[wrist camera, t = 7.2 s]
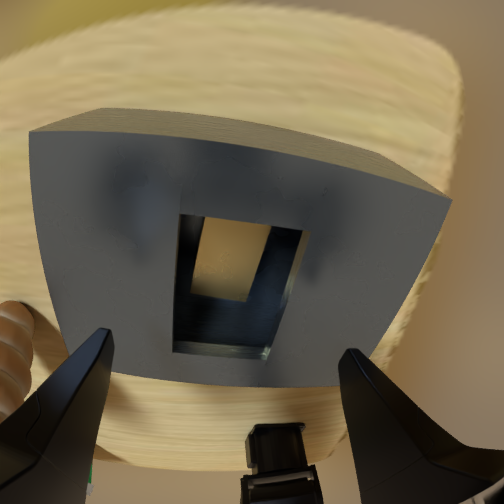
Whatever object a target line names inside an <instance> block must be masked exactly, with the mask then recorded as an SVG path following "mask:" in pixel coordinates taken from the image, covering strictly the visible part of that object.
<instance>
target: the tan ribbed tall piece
mask: <svg viewBox="0 0 504 504" xmlns="http://www.w3.org/2000/svg"><path fill="white" fill-rule="evenodd" d="M34 330H35V322H34V319H33V317H32V315H31V313H30V312H29V311H28V309H27V308H26V307H25V306H24V305H22V304H21V303H19V302H17V301H5V302H3V303H1V304H0V423H1V422H2V421H3V420H5V419H6V418H7V417H8V416H9V415H11V414H12V413H13V412H14V411H15V410H16V409H17V408H19V407H20V406H21V405H22V404H23V403H24V398H25V397H26V396H27V394H28V393H29V391H30V389H31V383H32V378H31V371H30V368H31V365H32V361H33V347H32V341H31V340H32V338H33V335H34Z"/></svg>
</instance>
